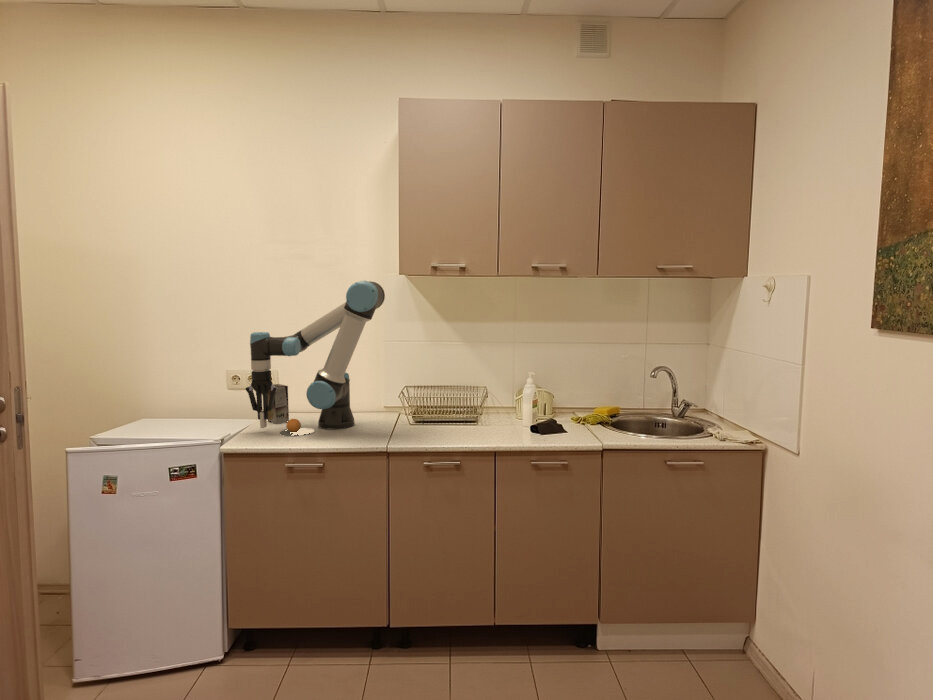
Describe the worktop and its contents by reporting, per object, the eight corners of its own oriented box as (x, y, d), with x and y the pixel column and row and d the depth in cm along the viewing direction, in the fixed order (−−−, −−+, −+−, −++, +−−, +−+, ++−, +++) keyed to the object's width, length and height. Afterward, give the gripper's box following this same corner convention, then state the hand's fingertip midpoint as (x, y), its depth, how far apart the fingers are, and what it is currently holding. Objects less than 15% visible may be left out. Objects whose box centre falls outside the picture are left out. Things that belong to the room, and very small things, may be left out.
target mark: (319, 428, 245) (319, 427, 245) (309, 436, 231) (309, 435, 231) (286, 427, 245) (286, 427, 245) (274, 436, 231) (274, 435, 231)
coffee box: (289, 422, 256) (288, 385, 255) (275, 424, 252) (274, 387, 250) (280, 418, 263) (278, 383, 261) (266, 421, 259) (265, 385, 257)
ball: (304, 421, 240) (293, 414, 240) (300, 424, 235) (288, 417, 235) (298, 432, 241) (286, 425, 241) (293, 436, 235) (282, 429, 235)
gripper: (280, 369, 239) (282, 425, 242) (249, 368, 240) (251, 425, 242) (273, 371, 232) (275, 429, 234) (241, 371, 233) (244, 429, 235)
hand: (263, 427), depth 238 cm, fingers closed
